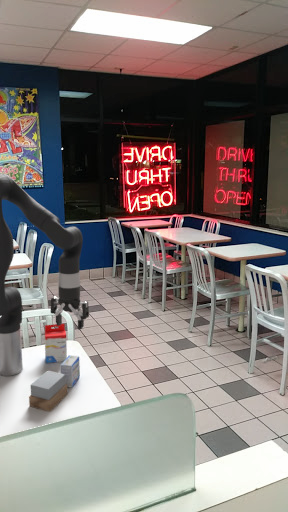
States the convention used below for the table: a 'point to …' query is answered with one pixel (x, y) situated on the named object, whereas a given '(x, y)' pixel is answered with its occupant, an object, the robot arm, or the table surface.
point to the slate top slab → (47, 385)
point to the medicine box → (71, 370)
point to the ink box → (55, 343)
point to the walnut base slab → (48, 404)
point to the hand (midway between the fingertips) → (69, 326)
